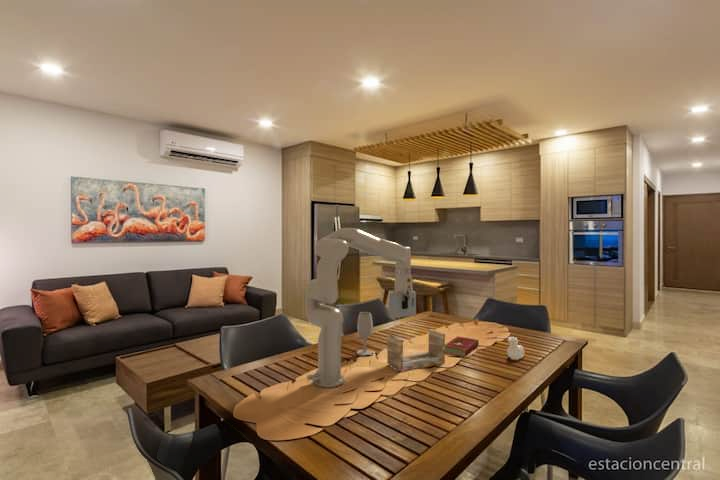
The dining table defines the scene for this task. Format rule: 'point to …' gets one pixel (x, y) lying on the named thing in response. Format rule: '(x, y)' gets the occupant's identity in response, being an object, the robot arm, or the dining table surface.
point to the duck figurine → (515, 349)
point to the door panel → (396, 305)
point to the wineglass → (365, 330)
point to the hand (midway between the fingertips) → (402, 307)
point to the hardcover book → (461, 345)
